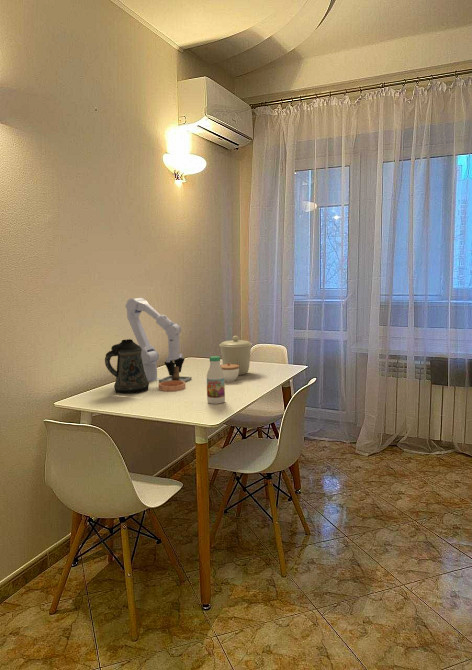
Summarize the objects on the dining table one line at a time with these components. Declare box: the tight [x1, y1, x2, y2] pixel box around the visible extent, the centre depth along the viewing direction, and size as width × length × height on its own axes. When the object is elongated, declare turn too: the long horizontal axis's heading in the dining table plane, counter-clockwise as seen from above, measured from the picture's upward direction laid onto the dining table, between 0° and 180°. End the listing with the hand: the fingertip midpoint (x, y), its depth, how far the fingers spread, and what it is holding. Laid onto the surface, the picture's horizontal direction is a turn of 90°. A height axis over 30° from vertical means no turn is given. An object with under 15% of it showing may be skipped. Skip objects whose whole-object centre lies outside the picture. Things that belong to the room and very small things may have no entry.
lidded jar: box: [220, 363, 239, 383], centre depth 268 cm, size 11×11×9 cm
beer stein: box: [104, 338, 150, 395], centre depth 247 cm, size 16×19×25 cm
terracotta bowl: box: [158, 381, 186, 392], centre depth 252 cm, size 13×13×3 cm
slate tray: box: [158, 375, 193, 384], centre depth 267 cm, size 13×11×2 cm
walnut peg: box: [170, 365, 180, 381], centre depth 266 cm, size 4×4×7 cm
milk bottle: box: [206, 355, 226, 405], centre depth 224 cm, size 8×8×20 cm
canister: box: [218, 335, 253, 376], centre depth 284 cm, size 18×18×21 cm
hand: (175, 373), depth 267 cm, fingers open, 7 cm apart
